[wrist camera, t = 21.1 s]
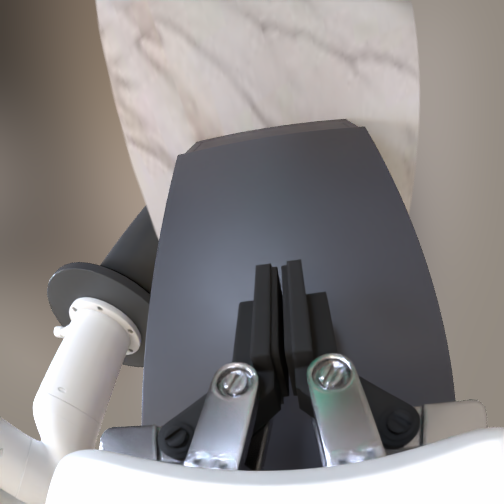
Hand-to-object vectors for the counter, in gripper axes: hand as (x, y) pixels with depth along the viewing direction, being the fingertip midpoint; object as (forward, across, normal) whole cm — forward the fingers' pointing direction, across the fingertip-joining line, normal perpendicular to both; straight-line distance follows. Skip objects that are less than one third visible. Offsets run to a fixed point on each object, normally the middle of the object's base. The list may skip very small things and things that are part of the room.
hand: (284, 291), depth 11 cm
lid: (+2, 0, +1) cm, 3 cm away
